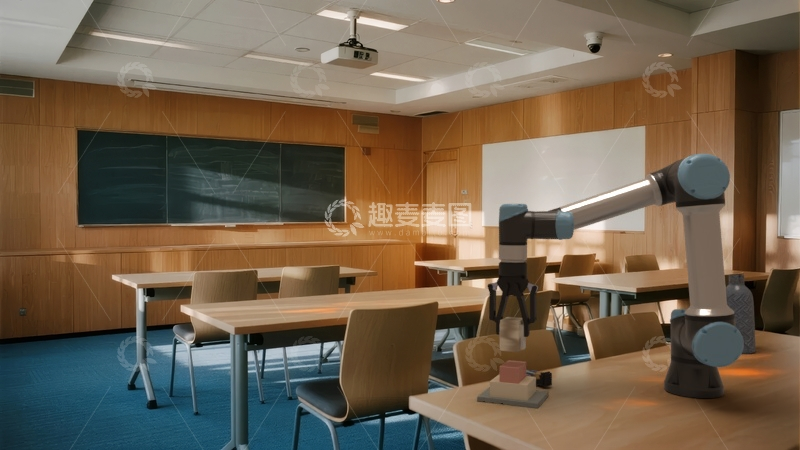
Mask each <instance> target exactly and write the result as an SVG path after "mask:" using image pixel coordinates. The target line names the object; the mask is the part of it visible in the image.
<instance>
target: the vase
mask: <svg viewBox="0 0 800 450" xmlns="http://www.w3.org/2000/svg"><path fill="white" fill-rule="evenodd" d="M725 286H726V298H727V305H728V307H729V308H731V309H732V310H733V311H734V314H735V325H736V328H737V329H738V330H739V331H740V333H741V335H742V337H743V341H744V348H743V351H742V354H741V355H749V354H753V353H756V349H757V348H756V327H755V326H756V323H755V305H754V304H755V303H754V296H753V293H752V291H751V290H750V289H749V288H748V287H747V286H746V285H745V275H744V274H728V284H727V285H725Z"/></svg>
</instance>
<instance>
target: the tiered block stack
mask: <svg viewBox="0 0 800 450" xmlns="http://www.w3.org/2000/svg"><path fill="white" fill-rule="evenodd" d="M526 370H527V361H523V360H522V361H521V360H510V359H509V360H506V361H505V362H504V363H502V364H501V365H500V366H499V370H498V371H499V373H498V375H496V376H495V377H494V378H492V379H491V380H490V381H489V387H487V388H486V389H485V390H484V391H482V392H481V393H480V394H478V395H477V396H476V402H479V401H486V402H485V403H488V402H494V403H493V404H496V403H503V404H502V405H505V404H509V405H508V406H513V405H514V407H515V406H516V407H523V408H530V409H531V408H532V409H539V407H541V405H542V404H543V403H544V402H545V401H546V399H547V398H548V397H549V391H546V390H545V391H544V390H538V389H537V385H536V377H531V376H526Z"/></svg>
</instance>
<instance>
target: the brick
mask: <svg viewBox="0 0 800 450" xmlns="http://www.w3.org/2000/svg"><path fill="white" fill-rule="evenodd" d="M522 324H523V319H522V317H512V316H506V317H503V319H502V320H500V335H499V342H500V348H499V351H502V352H511V353H512V352H513V353H520V352H521V351H522V350H521V325H522Z"/></svg>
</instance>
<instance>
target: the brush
mask: <svg viewBox="0 0 800 450" xmlns="http://www.w3.org/2000/svg"><path fill="white" fill-rule="evenodd" d="M526 376H531V377H536V386H540V387H541V386H542V387H550V386H553V373H552V372H551V371H538V370H536V369H535V370H534V369H526ZM537 384H538V385H537Z"/></svg>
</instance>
